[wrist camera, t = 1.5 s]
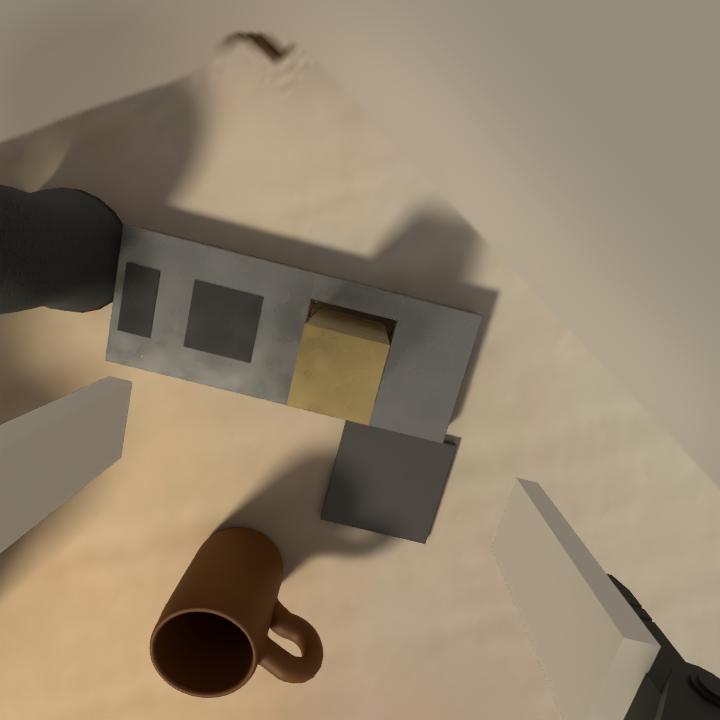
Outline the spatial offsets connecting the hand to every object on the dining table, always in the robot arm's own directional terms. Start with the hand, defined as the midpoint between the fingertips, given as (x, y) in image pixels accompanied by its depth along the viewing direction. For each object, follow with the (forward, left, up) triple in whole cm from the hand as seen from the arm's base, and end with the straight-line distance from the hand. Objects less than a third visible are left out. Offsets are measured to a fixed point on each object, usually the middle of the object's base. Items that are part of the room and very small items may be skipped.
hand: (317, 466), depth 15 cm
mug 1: (-23, +2, -21) cm, 31 cm away
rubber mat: (+6, -10, -21) cm, 24 cm away
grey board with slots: (-4, 0, -21) cm, 21 cm away
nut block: (0, 0, -21) cm, 21 cm away
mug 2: (-2, -21, -21) cm, 30 cm away
